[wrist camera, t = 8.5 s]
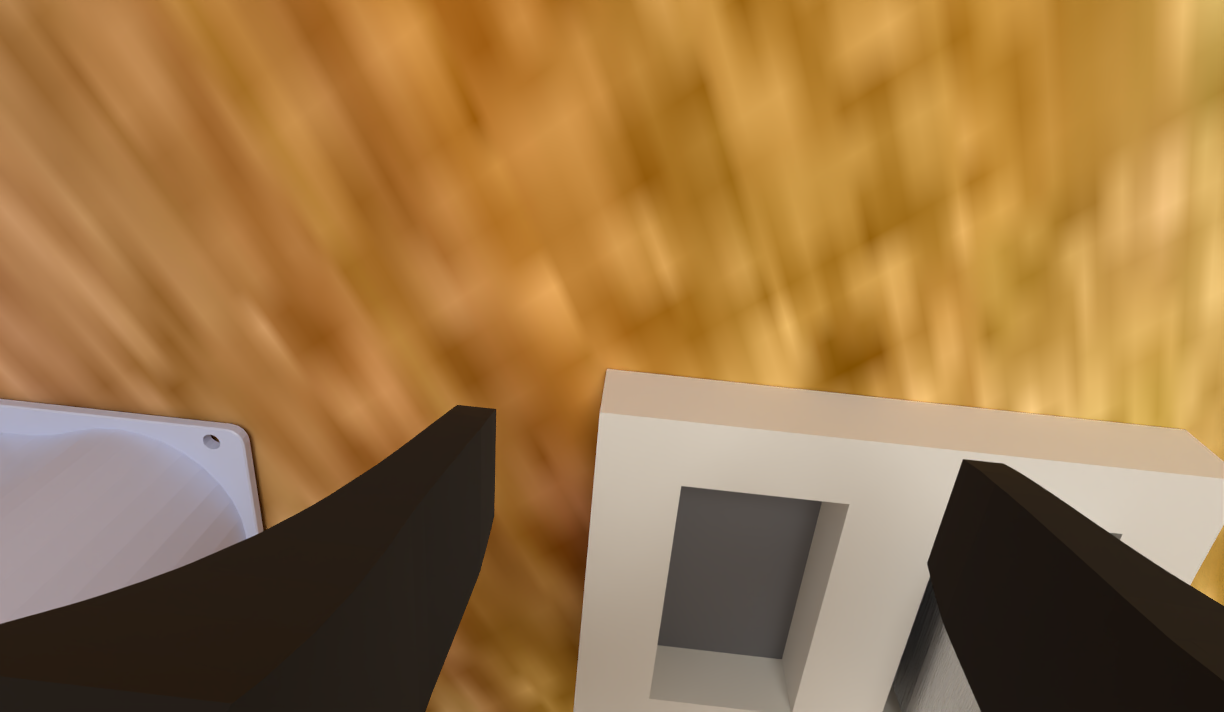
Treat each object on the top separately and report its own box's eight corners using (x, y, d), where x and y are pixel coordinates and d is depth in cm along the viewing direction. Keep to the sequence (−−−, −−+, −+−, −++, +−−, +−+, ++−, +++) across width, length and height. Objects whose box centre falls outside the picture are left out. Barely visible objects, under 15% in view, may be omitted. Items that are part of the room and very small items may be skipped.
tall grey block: (882, 652, 25) (941, 833, 20) (938, 481, 22) (1026, 639, 16) (987, 664, 25) (1076, 849, 19) (1058, 493, 22) (1186, 655, 16)
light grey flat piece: (579, 670, 27) (571, 732, 24) (607, 368, 21) (599, 412, 19) (1040, 724, 26) (1075, 792, 24) (1185, 429, 21) (1247, 481, 19)
